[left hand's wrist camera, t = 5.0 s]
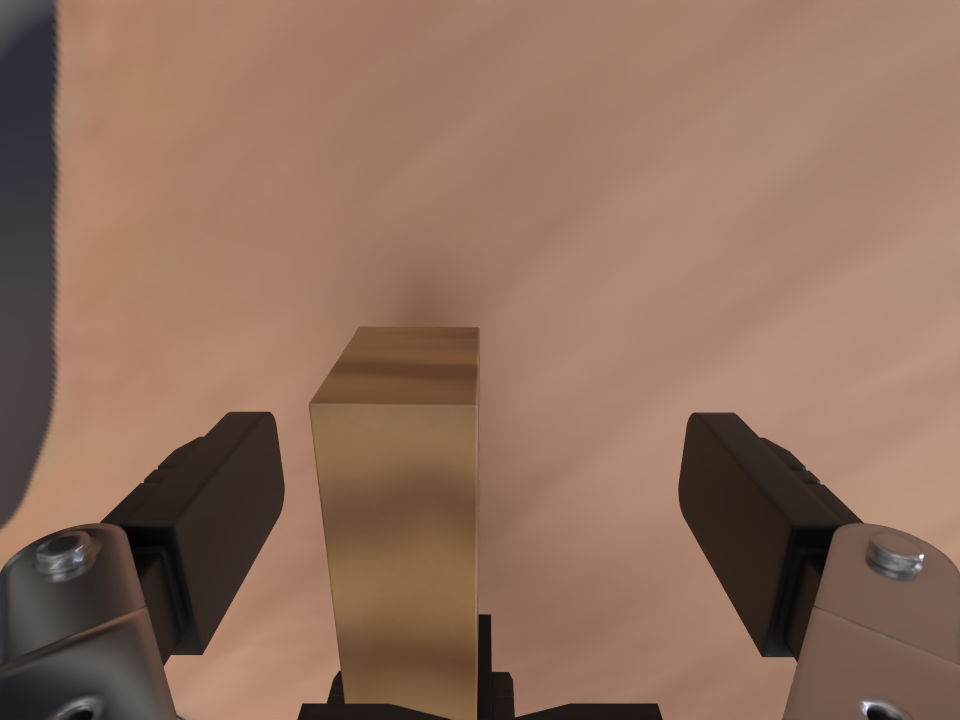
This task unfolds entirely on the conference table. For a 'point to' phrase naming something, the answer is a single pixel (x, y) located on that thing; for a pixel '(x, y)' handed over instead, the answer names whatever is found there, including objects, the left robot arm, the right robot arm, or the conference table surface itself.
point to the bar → (403, 515)
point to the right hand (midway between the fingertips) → (429, 631)
